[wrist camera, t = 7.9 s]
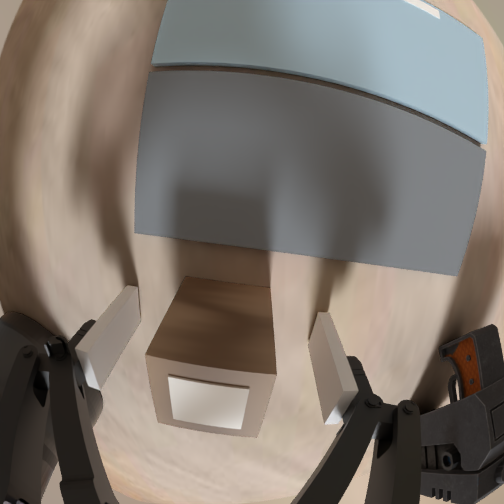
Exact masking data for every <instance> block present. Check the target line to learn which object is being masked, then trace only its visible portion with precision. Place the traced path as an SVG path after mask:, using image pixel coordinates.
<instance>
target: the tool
mask: <svg viewBox="0 0 504 504" xmlns="http://www.w3.org/2000/svg"><path fill="white" fill-rule="evenodd" d="M439 353H440V357H441V362H443V361H448V362H449V363H450V364H451V365H452V367H453V369H454V371H455V375H453V376H451V377H450V379H449V382H448V391H449V397H450V404H448V405H446V406H444V407H441V408H438V409H436V410H433V411H431V412H428V413H425V414H423V415H420V425H421V488H420V494H421V495H424V496H427V497H431V498H432V497H434V496H436V499H441V498H443V501H446V502H447V501H449V500H451V503H455V504H476V503H477V502H479V501H480V500H481V499H483V498H485V497H486V496H487V495H489V494H490V493H491V492H493V491H494V490H496V489H497V488H499V487H500V486H501V485H502V484H504V360H503V354H502V348H501V343H500V338H499V333H498V329H497V327H496V326H495V325H493V324H491V325H488V326H486V327H483V328H480V329H478V330H475V331H472V332H470V333H468V334H466V335H464V336H462V337H460V338H458V339H456V340H453V341H451V342H449V343H447V344H445V345H443V346H440V347H439ZM456 379H457V381H458V387H459V397H460V400H458V401H457V394H456V387H455V386H456Z"/></svg>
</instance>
